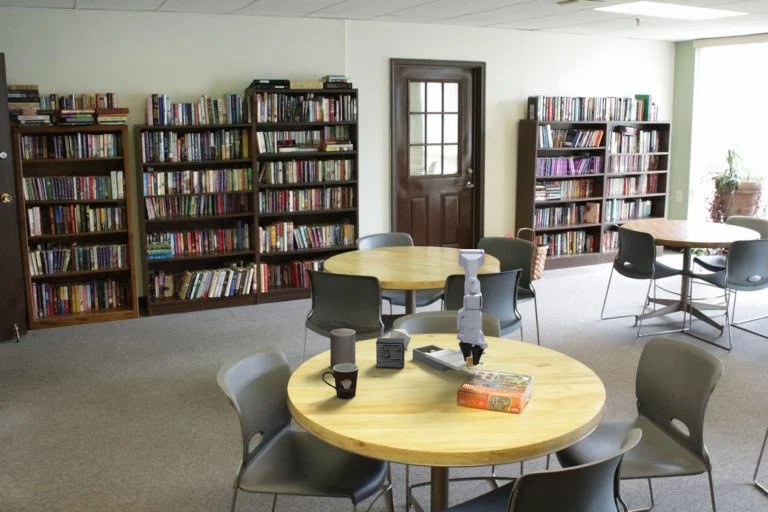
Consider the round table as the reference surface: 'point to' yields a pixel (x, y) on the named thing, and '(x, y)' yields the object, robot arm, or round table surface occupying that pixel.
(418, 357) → the tub
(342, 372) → the coffee mug
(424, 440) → the round table surface
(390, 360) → the small box
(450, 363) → the lid
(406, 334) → the die
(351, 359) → the pillar candle
